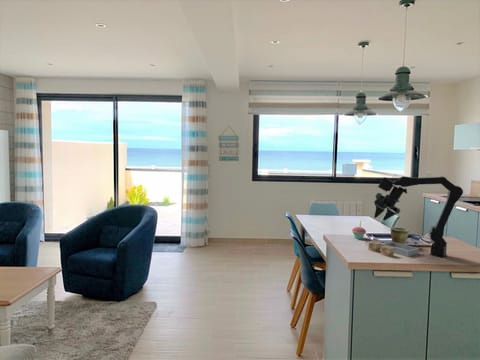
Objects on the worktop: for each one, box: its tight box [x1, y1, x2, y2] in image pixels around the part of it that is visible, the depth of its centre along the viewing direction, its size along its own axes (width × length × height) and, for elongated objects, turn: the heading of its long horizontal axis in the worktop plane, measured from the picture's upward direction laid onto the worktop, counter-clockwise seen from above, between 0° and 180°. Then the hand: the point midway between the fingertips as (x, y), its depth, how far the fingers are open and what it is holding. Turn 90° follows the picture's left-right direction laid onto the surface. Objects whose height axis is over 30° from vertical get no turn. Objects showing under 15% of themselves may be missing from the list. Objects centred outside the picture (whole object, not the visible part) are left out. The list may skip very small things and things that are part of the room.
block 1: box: [367, 241, 382, 253], centre depth 188 cm, size 4×4×4 cm
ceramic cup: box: [390, 226, 410, 245], centre depth 202 cm, size 13×10×10 cm
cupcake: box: [351, 220, 367, 240], centre depth 216 cm, size 9×8×12 cm
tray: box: [381, 241, 420, 257], centre depth 188 cm, size 16×11×3 cm
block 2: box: [380, 246, 395, 258], centre depth 180 cm, size 4×4×4 cm
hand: (379, 218), depth 194 cm, fingers open, 9 cm apart
